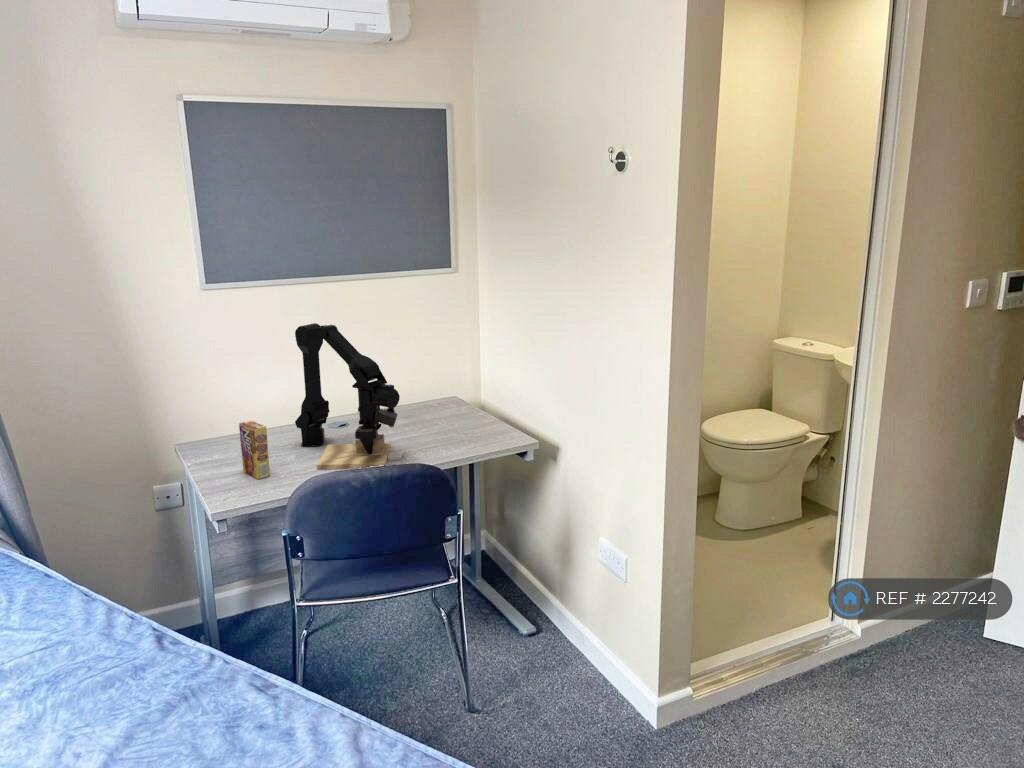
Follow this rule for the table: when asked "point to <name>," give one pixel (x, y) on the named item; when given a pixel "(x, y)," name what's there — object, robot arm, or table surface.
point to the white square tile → (394, 456)
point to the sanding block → (377, 447)
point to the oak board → (349, 457)
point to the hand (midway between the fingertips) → (371, 451)
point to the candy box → (254, 449)
